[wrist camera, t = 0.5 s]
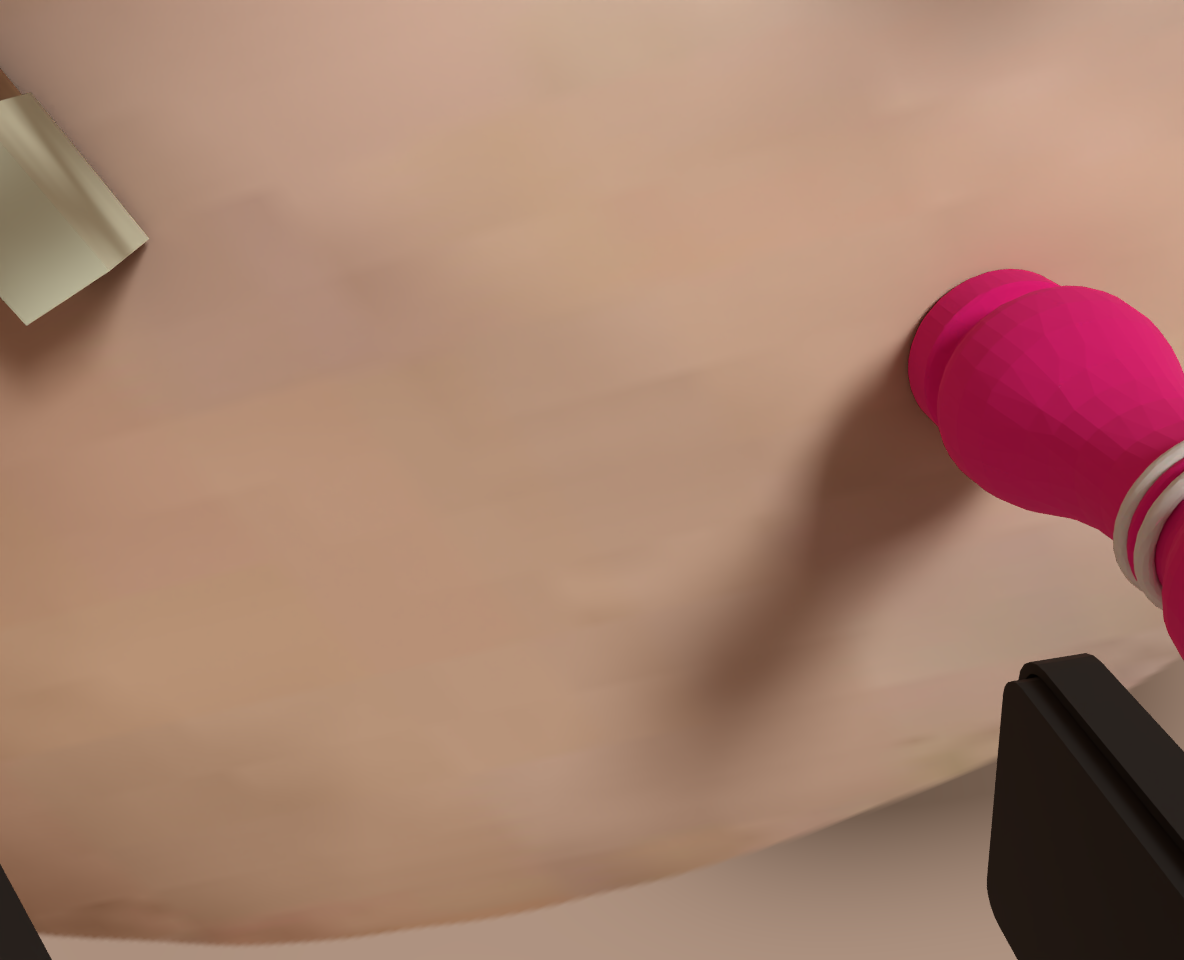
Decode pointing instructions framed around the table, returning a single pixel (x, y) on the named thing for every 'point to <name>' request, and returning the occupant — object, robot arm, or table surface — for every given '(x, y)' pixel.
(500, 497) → the table surface
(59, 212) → the tongs arm
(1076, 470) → the pepper mill
